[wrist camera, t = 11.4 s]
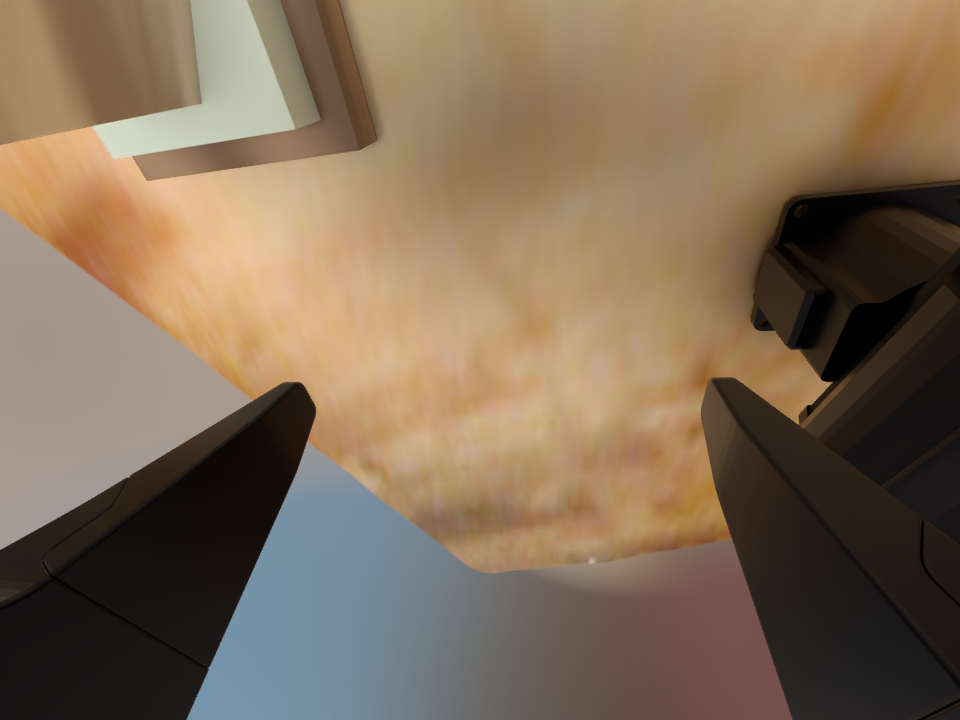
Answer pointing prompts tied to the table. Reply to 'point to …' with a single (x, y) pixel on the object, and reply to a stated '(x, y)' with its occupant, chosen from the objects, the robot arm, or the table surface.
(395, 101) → the table surface
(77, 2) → the oak block
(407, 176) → the table surface
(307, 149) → the walnut base slab
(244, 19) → the sage slab
